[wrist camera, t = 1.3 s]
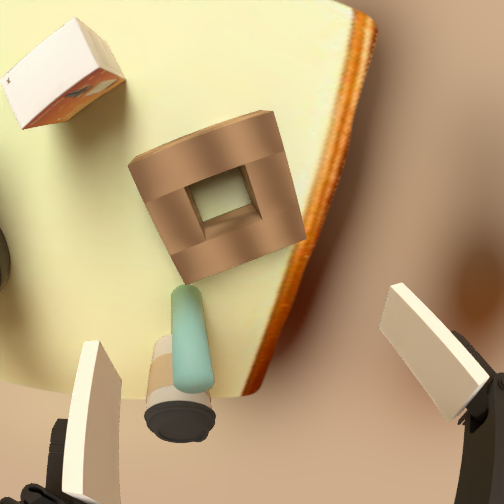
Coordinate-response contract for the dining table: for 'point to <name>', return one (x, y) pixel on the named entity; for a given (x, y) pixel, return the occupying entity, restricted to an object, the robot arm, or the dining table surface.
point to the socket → (234, 222)
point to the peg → (189, 342)
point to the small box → (61, 76)
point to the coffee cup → (174, 402)
